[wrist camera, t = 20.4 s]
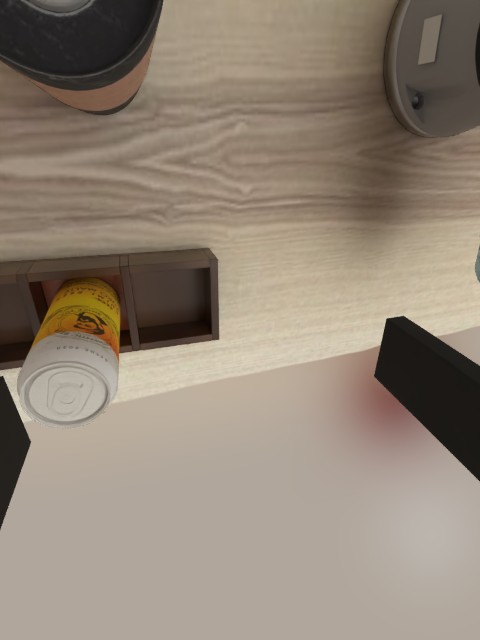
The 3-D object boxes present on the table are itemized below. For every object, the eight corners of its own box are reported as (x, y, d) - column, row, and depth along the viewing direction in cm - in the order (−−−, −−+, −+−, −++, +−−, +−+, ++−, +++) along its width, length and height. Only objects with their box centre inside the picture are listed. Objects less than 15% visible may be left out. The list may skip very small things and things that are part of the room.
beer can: (127, 283, 35) (128, 366, 22) (112, 334, 37) (104, 437, 24) (62, 266, 32) (20, 348, 19) (49, 321, 34) (4, 428, 21)
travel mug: (137, 131, 30) (152, 116, 13) (36, 101, 27) (-118, 29, 10) (150, 24, 27) (193, -183, 10) (39, -23, 24) (-175, -428, 7)
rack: (209, 248, 36) (217, 259, 33) (211, 323, 40) (219, 339, 37) (-80, 267, 29) (-107, 283, 26) (-41, 354, 34) (-60, 378, 30)
